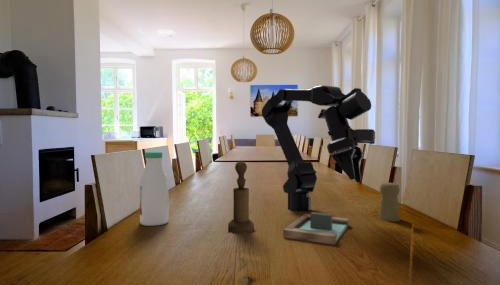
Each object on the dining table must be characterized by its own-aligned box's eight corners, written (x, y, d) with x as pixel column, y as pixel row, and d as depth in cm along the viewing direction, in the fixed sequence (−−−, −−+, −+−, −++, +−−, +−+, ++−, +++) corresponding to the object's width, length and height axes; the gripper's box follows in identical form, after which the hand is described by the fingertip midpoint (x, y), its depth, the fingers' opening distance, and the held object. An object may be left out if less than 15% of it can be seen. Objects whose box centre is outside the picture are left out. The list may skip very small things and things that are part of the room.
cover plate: (293, 236, 80) (293, 217, 80) (309, 222, 92) (309, 206, 92) (335, 242, 75) (335, 222, 75) (346, 227, 87) (347, 210, 87)
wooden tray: (283, 240, 79) (283, 229, 79) (304, 223, 94) (304, 213, 94) (334, 248, 74) (334, 236, 73) (348, 228, 89) (348, 218, 89)
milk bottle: (174, 221, 96) (173, 151, 96) (156, 227, 89) (155, 152, 89) (153, 218, 100) (152, 150, 99) (133, 224, 93) (133, 152, 92)
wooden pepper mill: (257, 229, 88) (257, 161, 87) (249, 237, 81) (249, 163, 81) (233, 227, 90) (233, 160, 89) (224, 234, 84) (223, 162, 83)
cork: (403, 224, 92) (403, 185, 92) (379, 223, 94) (380, 184, 93) (398, 219, 98) (398, 181, 98) (376, 218, 99) (376, 181, 99)
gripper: (361, 107, 83) (383, 167, 78) (371, 124, 99) (390, 174, 94) (319, 123, 87) (337, 181, 82) (335, 136, 103) (351, 185, 99)
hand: (356, 180), depth 89 cm, fingers open, 9 cm apart
